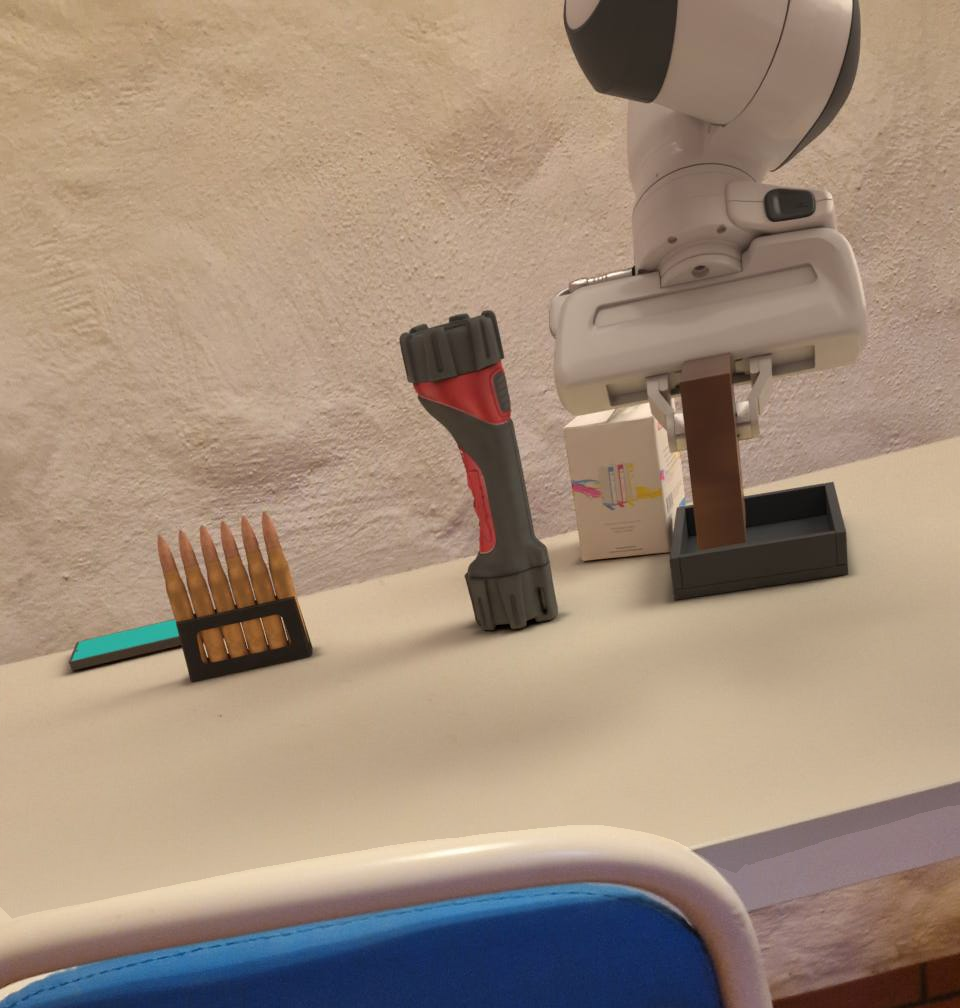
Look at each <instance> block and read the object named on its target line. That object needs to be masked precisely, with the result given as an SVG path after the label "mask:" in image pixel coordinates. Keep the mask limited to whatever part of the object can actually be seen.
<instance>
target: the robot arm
mask: <svg viewBox="0 0 960 1008" xmlns="http://www.w3.org/2000/svg"><path fill="white" fill-rule="evenodd" d="M563 2H564V3H563V11H562V12H563V13H562V14H563V15H562V16H563V26H564V29H565V33H566V36H567V39H568V42H569V45H570V48H571V50H572V53H573V55H574V57H575V60H576V62H577V64H578V66H579V67H580V70H581V72H582V73H583V74H584V77H585V78H586V79H587V81H588V82H589V84H590V85H591V87H592V88H593V90H594V91H595V92H596V93H598V94H602V95H607V96H611V97H615V98H620V99H625V100H627V114H626V115H627V117H626V153H627V155H626V156H627V170H628V171H627V172H628V178H629V182H630V184H631V185H630V186H631V187H632V190H633V192H634V194H635V199H634V202H633V207H632V212H631V232H632V233H631V234H632V250H633V266H632V267H626V268H622V269H618V270H613V271H609V272H606V273H603V274H599V275H597V276H592V277H588V276H585V277H579V278H576V279H573V280H571V281H569V282H568V287H566V288H564V289H561V290H560V291H558V293H557V294H556V295H555V296H554V297H553V298H552V299H550V302H549V306H548V320H549V321H548V326H549V332H550V334H551V336H552V337H553V339H554V352H553V380H554V384H555V388H556V393H557V396H558V399H559V402H560V404H561V406H562V407H563V408H564V409H565V410H566V411H567V412H569V413H570V414H571V415H572V416H574V417H577V416H580V415H586V414H591V413H596V412H602V411H607V410H612V409H618V408H623V407H628V406H633V405H639V404H644V403H649V404H650V409H651V414H652V415H653V416H654V417H655V418H656V420H657V421H658V422H659V423H660V424H661V426H662V427H663V428H664V429H665V430H666V431H667V438H668V444H669V449H670V453H673V452H678V451H680V452H683V451H687V445H686V436H685V428H684V419H683V412H678V413H677V412H676V413H675V411H676V410H675V411H674V410H673V409H672V401H671V398H674V399H675V398H681V392H680V378H681V373H682V368H683V362H685V361H690V360H695V359H700V358H706V357H711V356H716V355H721V354H726V353H730V354H731V364H732V374H733V385H734V387H739V386H743V385H744V386H745V385H749V384H751V385H750V386H751V390H750V392H749V394H748V396H747V398H746V400H743V401H738V402H735V413H736V426H737V434H738V441H739V442H741V441H746V440H752V439H757V438H761V430H760V419H759V416H761V415H762V413H763V412H764V410H765V408H766V406H767V403H768V402H769V400H770V398H771V397H772V394H773V393H774V380H776V379H777V380H778V379H782V378H788V377H793V376H798V375H804V374H808V373H813V372H819V371H824V370H830V369H834V368H840V367H846V366H851V365H854V364H856V363H857V362H858V361H859V360H860V358H861V357H862V355H863V354H864V352H865V351H866V349H867V347H868V340H869V318H868V316H869V315H868V307H867V300H866V295H865V289H864V284H863V279H862V276H861V275H862V274H861V272H860V268H859V265H858V261H857V258H856V254H855V252H854V250H853V247H852V245H851V243H850V242H849V241H848V239H847V238H846V236H844V234H842V233H841V232H839V230H838V221H837V220H838V219H837V213H836V207H835V201H834V197H833V195H832V193H831V192H830V191H829V190H827V189H823V188H815V187H798V186H797V187H795V186H785V185H783V186H782V185H776V184H775V185H774V184H766V183H763V180H764V178H765V177H766V174H767V173H768V172H769V173H774V172H776V171H778V170H779V169H781V168H783V167H784V166H785V165H786V164H787V163H789V162H790V161H792V160H793V159H794V158H795V157H796V156H797V155H798V154H800V153H801V152H802V151H803V150H804V149H805V148H806V147H808V146H809V145H810V144H811V143H812V142H814V141H815V140H816V139H817V138H818V137H819V136H820V135H821V134H823V132H824V131H826V129H827V128H828V127H829V126H830V125H831V123H832V122H833V121H834V120H835V118H836V117H837V116H838V115H839V112H840V111H841V109H842V108H843V107H844V105H845V103H846V101H847V100H848V98H849V96H850V94H851V92H852V90H853V86H854V83H855V79H856V76H857V74H858V73H857V72H858V67H859V64H860V63H859V62H860V54H861V39H862V38H861V35H862V30H861V29H862V26H861V25H862V24H861V23H862V22H861V10H860V9H861V8H860V2H859V0H564V1H563Z"/></svg>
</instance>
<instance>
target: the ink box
mask: <svg viewBox="0 0 960 1008" xmlns="http://www.w3.org/2000/svg"><path fill="white" fill-rule="evenodd" d="M671 401H672V409H673V410H674V411H675V413H676V414H677V412H676V411H677V410H676V402H675V398H671ZM562 431H563V435H564V443H565V449H566V458H567V463H568V471H569V477H570V482H571V483H570V484H571V490H572V498H573V505H574V511H575V518H576V519H575V520H576V527H577V532H578V540H579V546H580V553H581V560H582V561H583V562H587V561H594V560H603V559H614V558H625V557H632V556H633V557H634V556H644V555H652V554H663V553H671V546H672V538H673V531H674V524H675V516H676V509H677V507H683V506H685V507H686V506H687V505H686V495H685V487H684V476H683V468H682V467H683V466H682V459H681V451H678V452H673V453H670V449H669V444H668V438H667V431H666V430H665V429H664V428H663V427H662V426H661V424H660V423H659V422H658V421H657V420H656V418H655V417H654V416H653V415H652V414H651V409H650V404H649V403H644V404H639V405H633V406H628V407H623V408H618V409H612V410H607V411H602V412H596V413H591V414H586V415H580V416H575V417H574V418H573V419H572V420H571V421H569V422H568V423H567V424H566V425H565V426H564V427H563V428H562Z"/></svg>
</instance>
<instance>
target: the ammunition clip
mask: <svg viewBox="0 0 960 1008" xmlns="http://www.w3.org/2000/svg"><path fill="white" fill-rule="evenodd" d="M240 522H241V523H240V527H241V529H240V530H241V537H242V543H243V547H244V552H245V557H246V561H247V569H246V568H245V567H246V566H245V565H244V563H243V560H242V556H241V554H240V552H239V551H240V550H239V548H238V545H237V543H236V540H235V538H234V537H235V536H234V535H233V533H232V531H231V528H230V527H229V526H228V524H227V523H226V522H225V520H221V522H220V540H221V541H220V542H221V545H222V550H223V554H224V559H225V564H226V568H227V575H226V573H225V570H224V569H223V566H222V562H221V559H220V558H219V554H218V551H217V549H216V545H215V543H214V540H213V539H212V537H211V535H210V533H209V531H208V530H207V528H206V527H205V526H204V525H202V524H201V525H200V527H199V542H200V548H201V554H202V558H203V561H204V567H205V570H206V575H207V576H206V577H207V578H205V577H204V574H203V573H202V571H201V567H200V564H199V563H198V560H197V559H198V558H197V556H196V554H195V550H194V548H193V545H192V543H191V542H190V539H189V538H188V536H187V535H186V533H185V532H184V531H183V530H182V529H179V531H178V548H179V553H180V557H181V561H182V565H183V570H184V574H185V581H186V585H185V583H184V580H183V579H182V577H181V574H180V572H179V569H178V566H177V564H176V560H175V558H174V555H173V553H172V551H171V549H170V546H169V544H168V543H167V541H166V539H165V538H164V537H163V536H162V535H161V534H158V535H157V540H156V541H157V553H158V557H159V562H160V566H161V569H162V575H163V578H164V584H165V590H166V595H167V598H168V601H169V604H170V608H171V611H172V614H173V617H174V618H173V619H175V621H176V626H177V630H178V633H179V637H180V641H181V645H180V646H181V648H182V653H183V656H184V660H185V664H186V668H187V670H188V675H189V680H190V682H198V681H202V680H207V679H211V678H217V677H221V676H225V675H230V674H234V673H240V672H244V671H248V670H252V669H257V668H261V667H262V668H263V667H267V666H272V665H275V664H280V663H281V664H282V663H285V662H290V661H295V660H300V659H304V658H308V657H310V656H312V655H313V650H314V647H313V644H312V641H311V638H310V635H309V632H308V629H307V625H306V622H305V619H304V616H303V613H302V609H301V606H300V603H299V599H298V596H297V593H296V589H295V585H294V581H293V577H292V573H291V570H290V566H289V563H288V561H287V558H286V556H285V553H284V552H283V548H282V545H281V541H280V539H279V535H278V532H277V529H276V527H275V525H274V523H273V521H272V519H271V517H270V515H269V514H268V512H267V511H265V510H264V511H262V514H261V527H262V536H263V541H264V545H265V550H266V555H267V561H268V566H267V564H266V562H265V559H264V557H263V554H262V551H261V549H260V545H259V542H258V539H257V536H256V534H255V531H254V529H253V526H252V525H251V523H250V522H249V520H248V518H247V517H246V516H245V515H242V516H241V521H240ZM247 571H248V572H247ZM206 579H207V581H206ZM186 587H187V588H186ZM208 587H209V588H208ZM187 590H188V591H187ZM210 593H211V594H210ZM190 600H191V601H190ZM220 627H221V629H222V632H223V635H222V633H221V630H220ZM200 631H201V635H202V638H203V640H202V639H201V636H200V633H199V632H200Z"/></svg>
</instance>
